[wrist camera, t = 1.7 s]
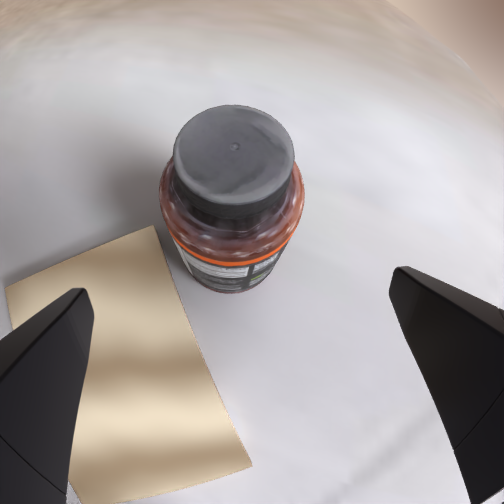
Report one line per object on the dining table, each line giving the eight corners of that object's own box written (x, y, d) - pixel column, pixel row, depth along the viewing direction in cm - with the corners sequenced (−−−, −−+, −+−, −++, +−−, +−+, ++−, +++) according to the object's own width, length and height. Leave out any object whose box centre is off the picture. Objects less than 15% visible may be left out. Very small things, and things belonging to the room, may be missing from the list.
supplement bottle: (212, 192, 22) (207, 64, 11) (291, 233, 21) (349, 126, 11) (165, 267, 20) (107, 178, 9) (248, 313, 20) (278, 269, 9)
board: (251, 461, 17) (252, 466, 16) (89, 502, 15) (84, 507, 14) (156, 230, 21) (153, 224, 20) (12, 290, 19) (4, 287, 18)
